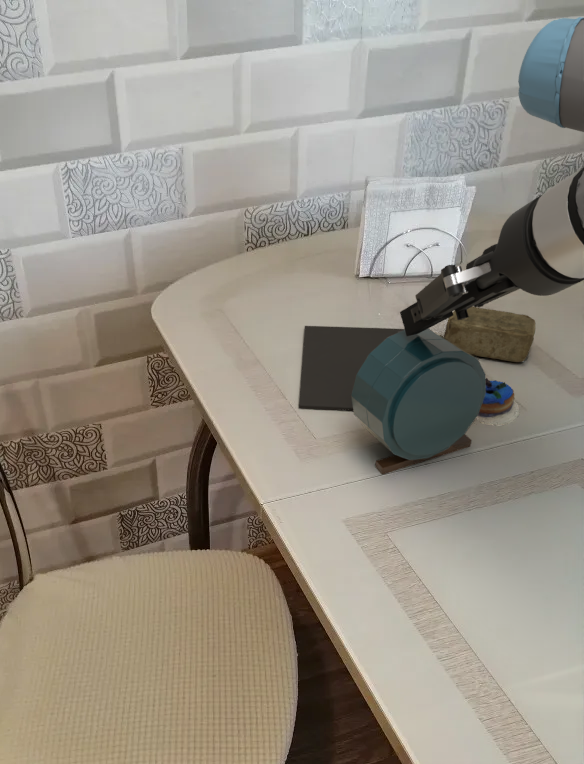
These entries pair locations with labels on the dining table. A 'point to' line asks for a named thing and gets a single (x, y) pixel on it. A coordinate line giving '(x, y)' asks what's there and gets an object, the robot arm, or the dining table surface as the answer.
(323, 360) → the mat
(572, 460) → the dining table surface
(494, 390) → the dessert
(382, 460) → the stop rail
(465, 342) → the stone block
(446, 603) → the dining table surface
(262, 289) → the dining table surface
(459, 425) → the bowl
